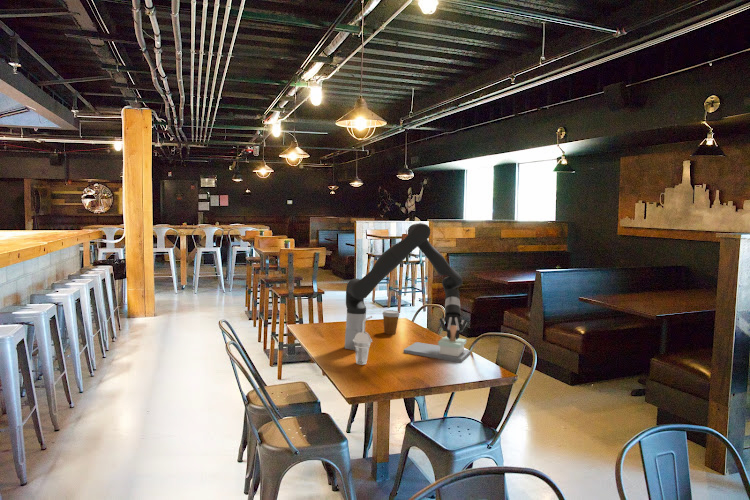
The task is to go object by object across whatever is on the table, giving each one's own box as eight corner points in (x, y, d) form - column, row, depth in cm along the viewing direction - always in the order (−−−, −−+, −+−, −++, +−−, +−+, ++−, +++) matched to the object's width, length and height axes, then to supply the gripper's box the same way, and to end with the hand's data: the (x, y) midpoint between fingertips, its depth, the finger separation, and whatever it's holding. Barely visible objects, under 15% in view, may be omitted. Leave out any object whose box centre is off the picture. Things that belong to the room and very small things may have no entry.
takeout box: (457, 356, 230) (458, 345, 229) (439, 353, 233) (440, 342, 233) (463, 351, 240) (464, 341, 239) (445, 348, 243) (446, 338, 243)
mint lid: (459, 348, 228) (461, 329, 228) (437, 345, 233) (439, 326, 232) (466, 343, 240) (467, 325, 239) (445, 339, 244) (446, 322, 243)
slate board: (461, 362, 226) (461, 359, 225) (403, 352, 237) (403, 349, 237) (470, 353, 242) (470, 350, 242) (416, 344, 253) (416, 341, 253)
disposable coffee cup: (389, 330, 283) (390, 309, 282) (402, 333, 276) (403, 312, 276) (377, 332, 276) (378, 311, 276) (390, 335, 270) (391, 314, 269)
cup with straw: (348, 361, 218) (351, 315, 217) (367, 359, 222) (370, 315, 220) (355, 366, 210) (358, 319, 209) (375, 365, 214) (377, 319, 213)
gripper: (439, 302, 243) (438, 333, 232) (468, 304, 242) (469, 335, 231) (437, 311, 249) (437, 341, 237) (466, 313, 248) (467, 343, 236)
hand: (453, 338), depth 234 cm, fingers closed on mint lid, 3 cm apart
